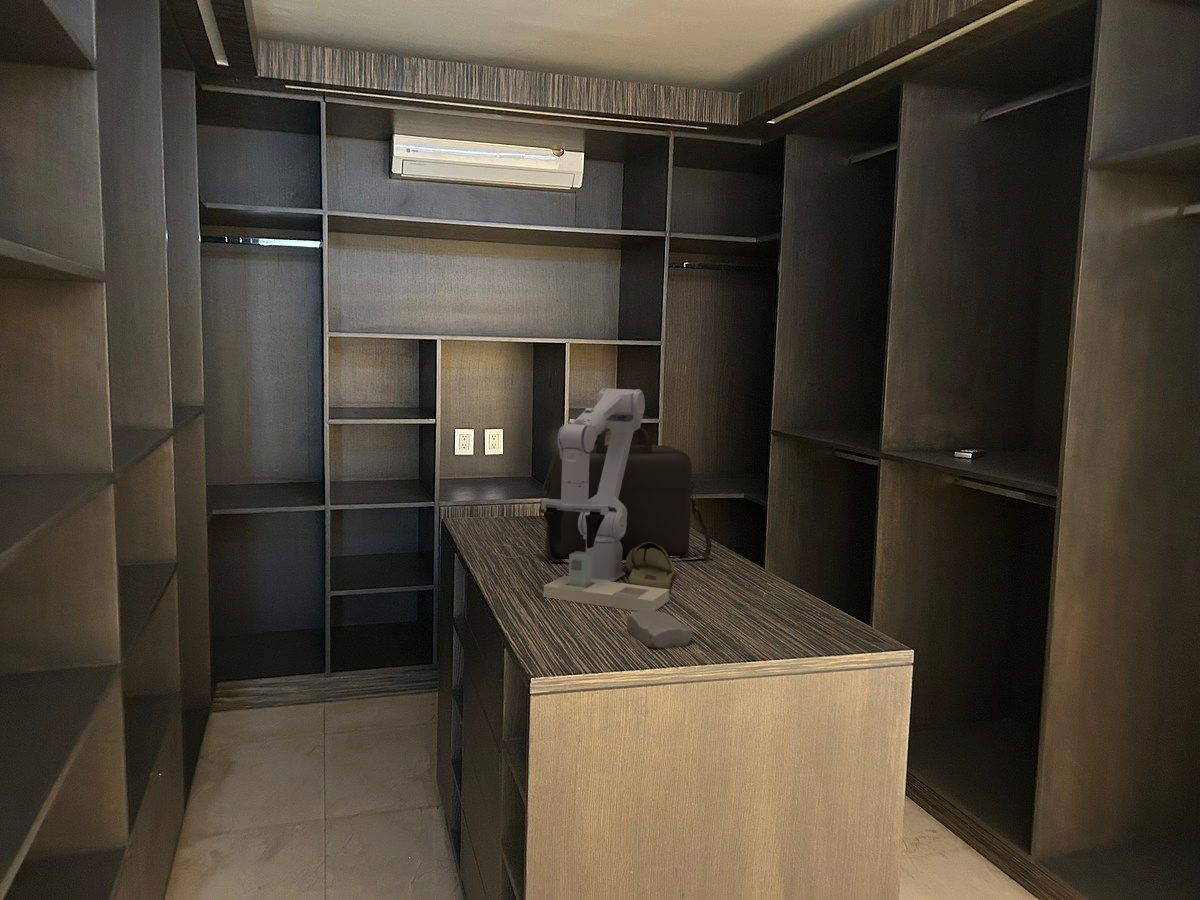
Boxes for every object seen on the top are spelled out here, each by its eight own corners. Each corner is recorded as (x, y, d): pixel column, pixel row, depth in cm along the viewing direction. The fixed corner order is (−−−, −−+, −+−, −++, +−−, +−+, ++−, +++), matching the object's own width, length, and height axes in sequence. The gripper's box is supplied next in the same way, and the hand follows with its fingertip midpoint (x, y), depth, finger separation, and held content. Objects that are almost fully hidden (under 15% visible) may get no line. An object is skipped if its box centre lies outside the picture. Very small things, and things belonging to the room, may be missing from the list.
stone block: (667, 636, 176) (620, 630, 172) (673, 611, 176) (626, 605, 172) (697, 658, 165) (647, 652, 161) (703, 632, 165) (653, 626, 161)
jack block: (564, 586, 203) (564, 574, 202) (668, 601, 193) (669, 588, 193) (543, 597, 193) (543, 584, 193) (652, 613, 184) (652, 599, 184)
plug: (575, 592, 198) (576, 551, 197) (590, 594, 197) (592, 552, 196) (567, 597, 194) (568, 554, 193) (582, 599, 193) (584, 556, 192)
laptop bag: (696, 550, 244) (701, 424, 240) (712, 561, 232) (717, 428, 228) (533, 553, 235) (536, 422, 232) (541, 564, 223) (544, 427, 219)
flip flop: (626, 565, 226) (627, 531, 225) (675, 567, 225) (676, 533, 224) (618, 596, 197) (619, 557, 196) (674, 599, 196) (676, 560, 195)
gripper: (535, 480, 194) (534, 545, 195) (600, 486, 188) (598, 552, 190) (550, 477, 200) (548, 539, 202) (612, 482, 195) (610, 546, 196)
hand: (573, 545), depth 196 cm, fingers open, 7 cm apart
